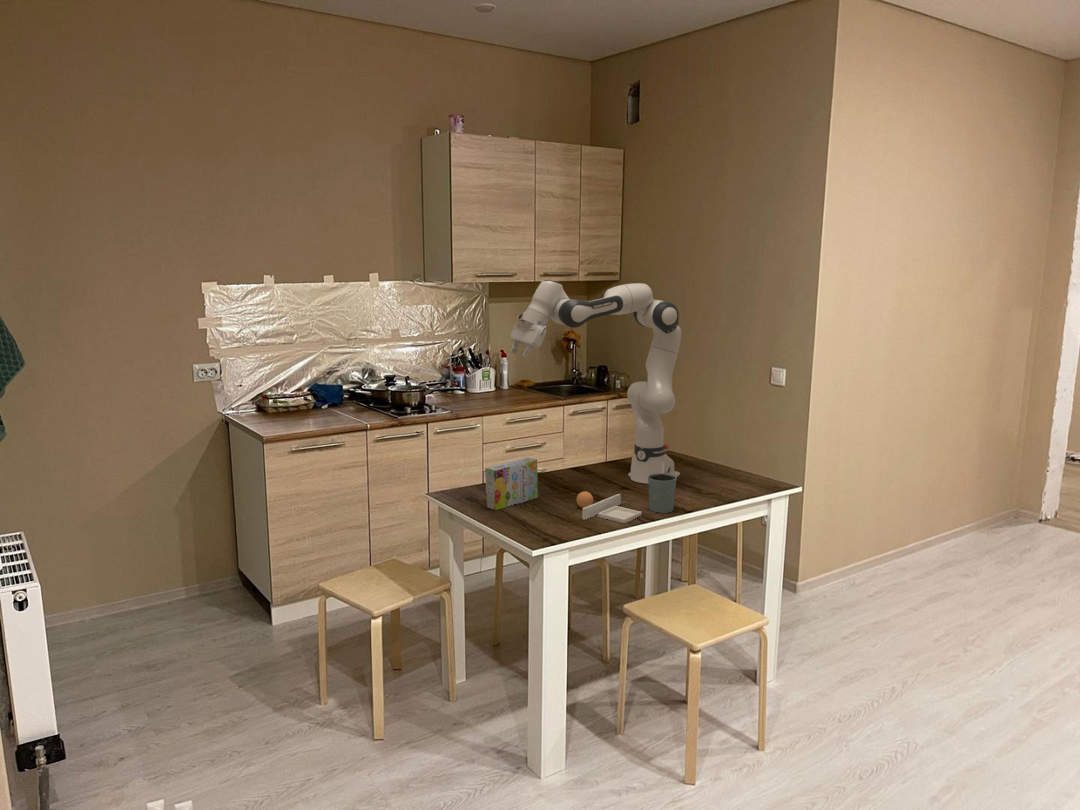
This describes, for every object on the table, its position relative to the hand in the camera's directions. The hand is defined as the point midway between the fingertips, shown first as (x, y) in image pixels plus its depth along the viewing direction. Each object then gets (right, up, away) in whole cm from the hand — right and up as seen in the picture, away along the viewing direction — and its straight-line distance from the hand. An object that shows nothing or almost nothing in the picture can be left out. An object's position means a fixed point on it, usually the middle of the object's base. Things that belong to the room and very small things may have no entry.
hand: (518, 355), depth 294 cm
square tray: (+35, -57, -14) cm, 68 cm away
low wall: (+30, -56, -10) cm, 64 cm away
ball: (+24, -52, -5) cm, 58 cm away
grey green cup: (+51, -56, -7) cm, 76 cm away
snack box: (-2, -54, +1) cm, 54 cm away
